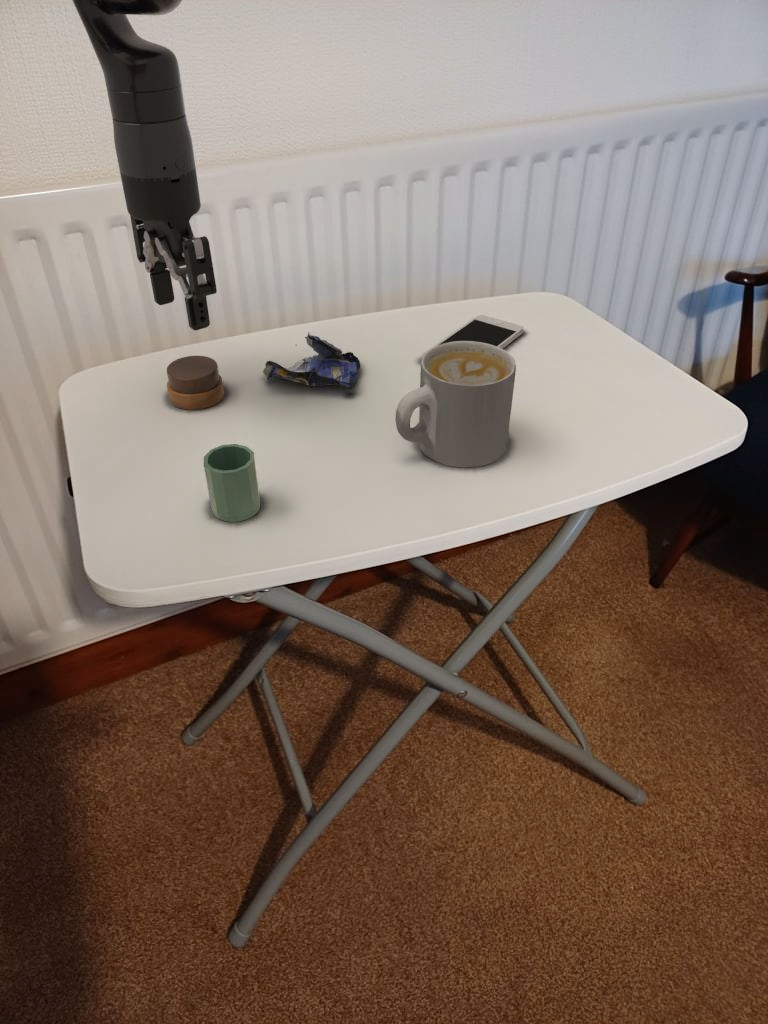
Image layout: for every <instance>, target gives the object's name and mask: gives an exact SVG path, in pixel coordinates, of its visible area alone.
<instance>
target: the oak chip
mask: <svg viewBox="0 0 768 1024" xmlns="http://www.w3.org/2000/svg"><path fill="white" fill-rule="evenodd" d="M219 379H220V380H219V383H218V384H217V385H216V386H215V387H214V388H212V389H211V390H208V391H206V392H202V393H197V394H183V393H178V392H176V391H174V390H172V389H171V388H170V386H169V381H168V380H167V383H166V387H167V393H168V398H169V402H170V403H171V404H172V405H173V406H174V407H176V408H177V409H180V410H181V409H182V410H189V411H197V410H204V409H207V408H210V407H212V406H215V405H216V404H218V403H220V402H221V401H222V400H223V398H224V396H225V390H224V389H225V388H224V382H223V377H222V376H221V374H219Z"/></svg>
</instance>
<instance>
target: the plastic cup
mask: <svg viewBox="0 0 768 1024" xmlns="http://www.w3.org/2000/svg"><path fill="white" fill-rule="evenodd" d="M203 470H204V474H205V480H206V485H207V491H208V497H209V503H210V509H211V510H212V511H211V512H212V513H213V515H214V516H215V517H216V518H217V519H219V520H221V521H223V522H229V523H230V522H231V523H235V522H243V521H246V520H249V519H251V518H252V517H254V516H255V515H256V514H257V513H258V512H259V511H260V508H261V497H260V496H261V495H260V489H259V482H258V471H257V466H256V457H255V452H254V451H253V450H252V449H251V448H249V447H248V446H246V445H243V444H238V443H230V444H221V445H218V446H217V447H216V446H215V447H214V448H211V449H210V450H208V452H207V453H206V454H205V455H203Z"/></svg>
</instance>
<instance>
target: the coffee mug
mask: <svg viewBox="0 0 768 1024" xmlns="http://www.w3.org/2000/svg"><path fill="white" fill-rule="evenodd" d="M436 345H437V344H436ZM436 345H434V346H435V347H434V346H433V347H431V348H430V349H428V350H426V352H424V353H425V354H424V353H423V354H424V355H423V354H422V357H421V360H420V373H419V374H420V375H419V387H418V388H416V389H413V390H410V391H408V392H407V393H405V394H404V395H403V396H402V397H401V399H400V400H399V401H398V404H397V406H396V410H395V425H396V430H397V432H398V433H399V436H401V437H402V438H403V440H405V441H407V442H410V443H418V446H419V448H420V450H421V452H422V453H423V454H424V455H426V457H428V458H429V459H431V460H433V461H434V462H436V463H439V464H441V465H444V466H448V467H452V468H453V467H454V468H479V467H483V466H487V465H490V464H492V463H495V462H496V461H497V460H499V459H501V458H502V456H503V455H505V453H506V451H507V447H508V441H509V431H510V424H511V414H512V406H513V398H514V390H515V389H514V388H515V382H516V381H515V380H516V371H517V364H516V361H515V358H514V357H513V355H511V354H510V353H509V352H508V351H506V350H504V348H503V349H501V348H499V347H496V346H494V345H490V344H487V343H482V342H475V341H455V342H448V343H444V344H440V345H437V346H436ZM417 408H418V409H419V411H418V423H417V424H416V425H415V426H413V427H411V418H412V416H413V413H414V412H415V410H416V409H417Z"/></svg>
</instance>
